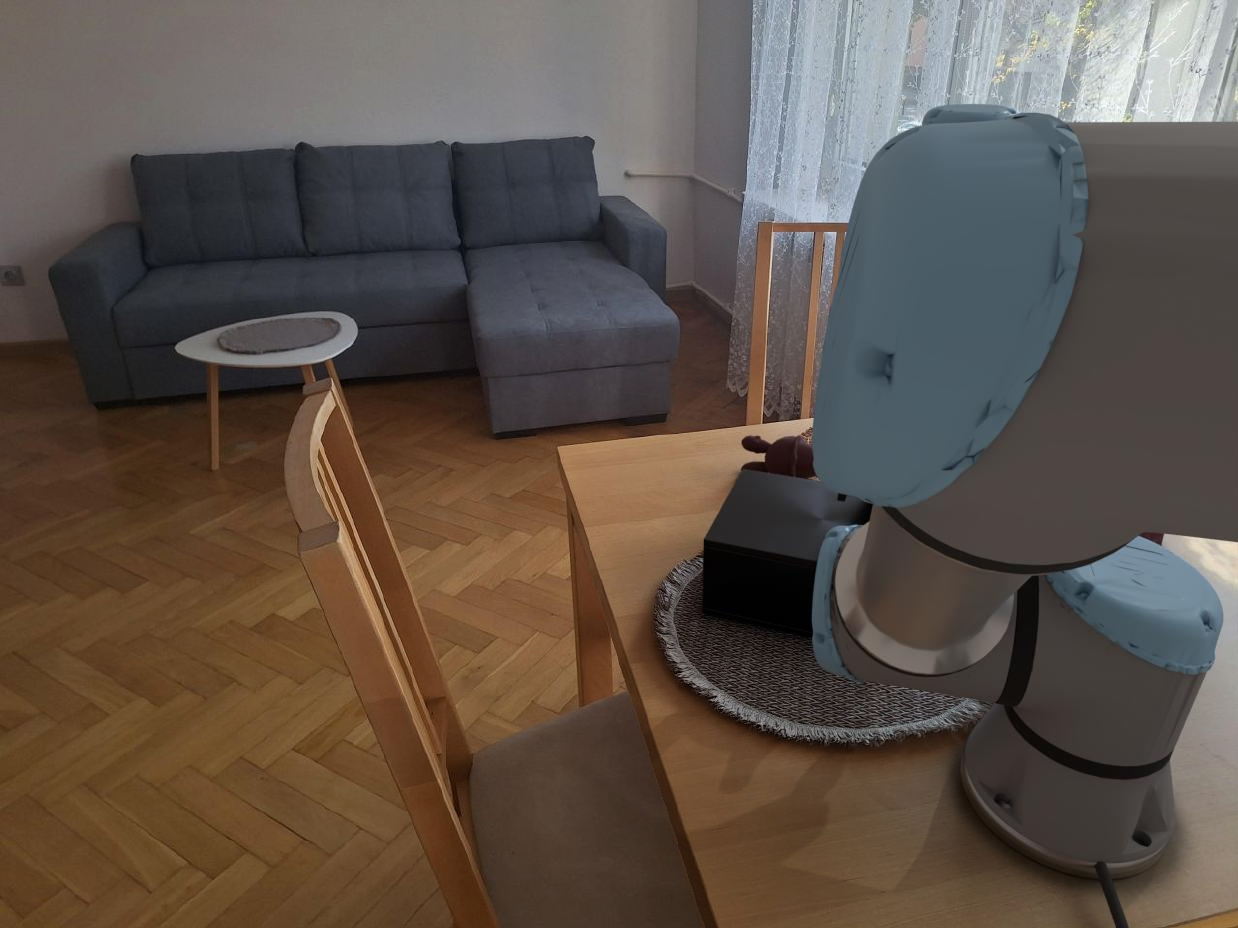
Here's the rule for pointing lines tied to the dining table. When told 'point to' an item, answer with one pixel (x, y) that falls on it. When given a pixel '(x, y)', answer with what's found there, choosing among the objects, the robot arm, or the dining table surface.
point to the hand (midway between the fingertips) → (909, 505)
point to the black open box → (758, 591)
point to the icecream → (781, 456)
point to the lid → (782, 517)
